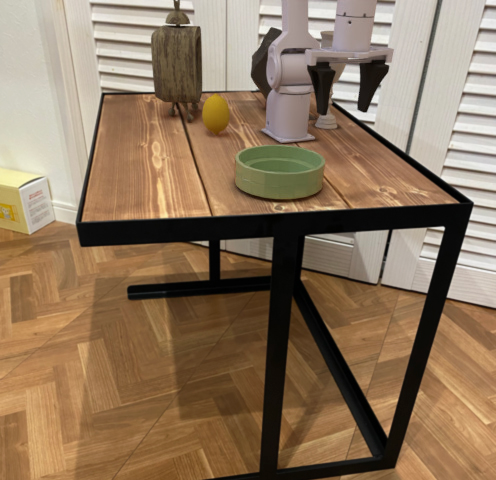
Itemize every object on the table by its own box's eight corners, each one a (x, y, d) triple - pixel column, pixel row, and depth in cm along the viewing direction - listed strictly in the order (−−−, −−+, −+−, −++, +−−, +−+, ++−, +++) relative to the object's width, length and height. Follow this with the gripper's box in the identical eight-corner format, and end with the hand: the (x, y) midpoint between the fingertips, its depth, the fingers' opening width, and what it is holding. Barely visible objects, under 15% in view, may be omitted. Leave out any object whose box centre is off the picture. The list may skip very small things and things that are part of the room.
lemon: (215, 130, 108) (214, 89, 104) (235, 135, 106) (235, 93, 101) (197, 135, 105) (195, 93, 100) (217, 140, 102) (216, 98, 97)
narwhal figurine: (301, 103, 130) (308, 21, 119) (315, 119, 118) (325, 29, 107) (245, 103, 128) (247, 20, 117) (255, 119, 116) (258, 28, 105)
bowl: (221, 176, 86) (221, 149, 83) (295, 167, 91) (297, 141, 88) (257, 208, 75) (259, 178, 73) (338, 195, 80) (342, 167, 78)
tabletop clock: (197, 125, 111) (192, -13, 96) (155, 123, 111) (145, -15, 96) (203, 109, 123) (200, -17, 108) (165, 107, 123) (157, -18, 108)
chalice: (340, 131, 110) (353, 36, 99) (309, 128, 111) (318, 34, 100) (342, 122, 116) (354, 31, 105) (312, 120, 117) (321, 30, 106)
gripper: (324, 18, 70) (314, 122, 78) (412, 18, 75) (393, 115, 83) (301, 13, 75) (294, 110, 83) (384, 13, 80) (369, 105, 88)
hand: (342, 112), depth 83 cm, fingers open, 7 cm apart
